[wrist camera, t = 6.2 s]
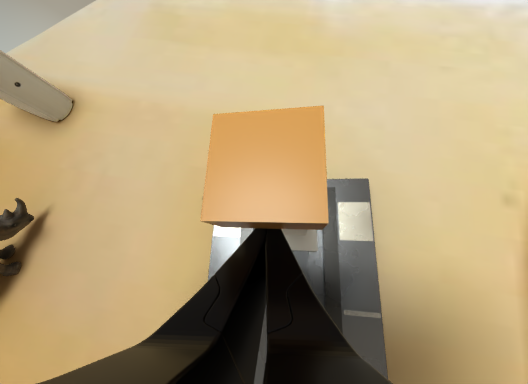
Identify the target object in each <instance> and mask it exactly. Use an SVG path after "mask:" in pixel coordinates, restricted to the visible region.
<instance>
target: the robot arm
mask: <svg viewBox="0 0 528 384" xmlns="http://www.w3.org/2000/svg"><path fill="white" fill-rule="evenodd" d="M265 307H266V320H267V355H266V363H265V370H264V378H263V384H393V383H391V382H390V381H389V380H388V379H387V378H385V377H384V376H383V375H382V374H381V373H379V372H378V371H377V370H376V369H375V368H373V367H372V366H371V365H370V364H369V363H367V362H366V361H365V360H364V359H363V358H362V357H361V356H360V355H359V354H358V353H357V352H356V351H355V350H354V349H353V348H352V346H351V345H350V344H349V343H348V341H347V340H346V339H345V337H344V336H343V334H342V333H341V332H340V330H339V329H338V327H337V326H336V324H335V323H334V322H333V320H332V319H331V317H330V316H329V314H328V313H327V311H326V310H325V309H324V307H323V306H322V304H321V303H320V301H319V300H318V298H317V297H316V295H315V293H314V292H313V290H312V288H311V286H310V285H309V283H308V281H307V279H306V277H305V275H304V274H303V271H302V269H301V267H300V265H299V263H298V261H297V259H296V257H295V255H294V253H293V252H292V250H291V248H290V246H289V244H288V242H287V240H286V238H285V236H284V234H283V232H282V230H281V229H263V228H255V229H254V231H253V232H252V233H251V234H250V235H249V236H248V237H247V238H246V239H245V241H244V242H243V243H242V244H241V245H240V246H239V247H238V248H237V249H236V251H235V252H234V253H233V254H232V255H231V256H230V257H229V258H228V259H227V261H226V262H225V263H224V264H223V265H222V266H221V267H220V268H219V269H218V271H217V272H216V273H215V275H213V276H212V277H211V278H210V279H209V281H208V282H207V283H206V284H205V285H204V286H203V287H202V288H201V289H200V290H199V291H198V292H197V293H196V294H195V295H194V296H193V297H192V298H191V299H190V300H189V301H188V302H187V303H186V304H185V305H184V306H183V307H181V308H180V309H179V310H178V311H177V312H176V313H175V314H174V315H173V316H172V317H171V318H170V319H169V320H167V321H166V322H165V323H164V324H163V325H162V326H161V327H160V328H159V329H158V330H157V331H155V332H154V333H153V334H152V335H151V336H149V337H148V338H147V339H145V340H144V341H142V342H141V343H139V344H137V345H135V346H133V347H131V348H128V349H126V350H123V351H121V352H118V353H116V354H113V355H111V356H108V357H106V358H103V359H101V360H98V361H96V362H93V363H91V364H88V365H86V366H83V367H81V368H78V369H76V370H73V371H71V372H68V373H66V374H63V375H61V376H58V377H56V378H53V379H50V380H47V381H44V382H40V383H37V384H254V379H255V372H256V366H257V359H258V353H259V346H260V340H261V333H262V327H263V320H264V314H265Z"/></svg>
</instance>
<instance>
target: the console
mask: <svg viewBox="0 0 528 384" xmlns="http://www.w3.org/2000/svg"><path fill="white" fill-rule="evenodd" d="M327 197H328V221H329V223H328V224H327V225H326V227H325V228H324V229H323V230H317V248H318V251H299V250H292V252H293V253H294V255H295V257H296V259H297V261H298V263H299V265H300V267H301V269H302V271H303V274H304V275H305V277H306V279H307V281H308V283H309V285H310V286H311V288H312V290H313V292H314V293H315V295H316V297H317V298H318V300H319V301H320V303H321V304H322V306H323V307H324V309H325V310H326V311H327V313H328V314H329V316H330V317H331V319H332V320H333V322H334V323H335V324H336V326H337V327H338V329H339V330H340V332H341V333H342V334H343V336H344V337H345V339H346V340H347V341H348V343H349V344H350V345H351V346H352V348H353V349H354V350H355V351H356V352H357V353H358V354H359V355H360V356H361V357H362V358H363V359H364V360H365V361H366V362H367V363H369V364H370V365H371V366H372V367H373V368H375V369H376V370H377V371H378V372H379V373H381V374H382V375H383V376H384V377H385V378H387V379H388V375H387V364H386V354H385V344H384V334H383V323H382V313H381V303H380V293H379V283H378V272H377V262H376V252H375V242H374V231H373V221H372V211H371V201H370V190H369V180H368V179H327ZM254 229H255V228H222V227H219V226H216V225H214V227H213V237H212V246H211V256H210V266H209V276H208V281H209V279H210V278H211V277H212V276H213V275H215V273H216V272H217V271H218V269H219V268H220V267H221V266H222V265H223V264H224V263H225V262H226V261H227V259H228V258H229V257H230V256H231V255H232V254H233V253H234V252H235V251H236V249H237V248H238V247H239V246H240V245H241V244H242V243H243V242H244V241H245V239H246V238H247V237H248V236H249V235H250V234H251V233H252V232H253V231H254ZM266 355H267V320H266V307H265V314H264V320H263V327H262V333H261V340H260V346H259V353H258V359H257V366H256V372H255V379H254V384H263V378H264V370H265V363H266Z"/></svg>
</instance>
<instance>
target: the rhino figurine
mask: <svg viewBox="0 0 528 384" xmlns="http://www.w3.org/2000/svg"><path fill="white" fill-rule="evenodd" d="M15 201H16V202H17V208H16V210H15V211H14V212H13V213H12V212H10V211H9V210H7V209H5V210H4V213H3V215H0V241H2V240H6V239H9V238H11V237H13V236H14V235H15V234H17V233H18V232H19V231H20V230H22V229H23V228H24V227H25V226H27V225H28V224H29V223H30V222H31V221H33V220H34V216H32V215H30V214H28V213H27V209H26V205H25V203H24V202H23V201H22V200H20V199H19V198H16V199H15ZM14 252H15V248H14V246H13V245H9V246H7V247H5V248H4V249H2V250H0V258H1V259H8V258H10V257H11V256H12V255H13V254H14ZM20 267H21V263H18V262H14V263H11V264H9V265H4V264H1V263H0V274H2V275H3V276H9V275H15V274H17V273H18V272H19V269H20Z"/></svg>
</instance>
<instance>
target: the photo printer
mask: <svg viewBox="0 0 528 384" xmlns="http://www.w3.org/2000/svg"><path fill="white" fill-rule="evenodd" d="M0 99H2V100H4V101H6V102H7V103H10V104H12V105H14V106H16V107H18V108H20V109H23V110H25V111H27V112H29V113H32V114H34V115H37V116H39V117H42V118H45V119H47V120H51V121H55V122H57V121H58V120H62V119H64V118H65V117H66V116H67V115H68V114H69V113H70V111H71V109H72V106H73V104H72V99H71V98H70V97H68V96H67V95H66V94H65V93H63V92H62V91H60V90H59V89H58V88H56V87H55V86H53V85H52V84H50V83H49V82H47V81H46V80H44V79H43V78H41V77H40V76H38V75H37V74H35V73H34V72H32V71H31V70H29V69H28V68H26V67H25V66H23V65H22V64H20V63H19V62H17V61H16V60H14V59H13V58H11V57H10V56H8V55H7V54H5V53H4V52H2V51H0Z"/></svg>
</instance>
